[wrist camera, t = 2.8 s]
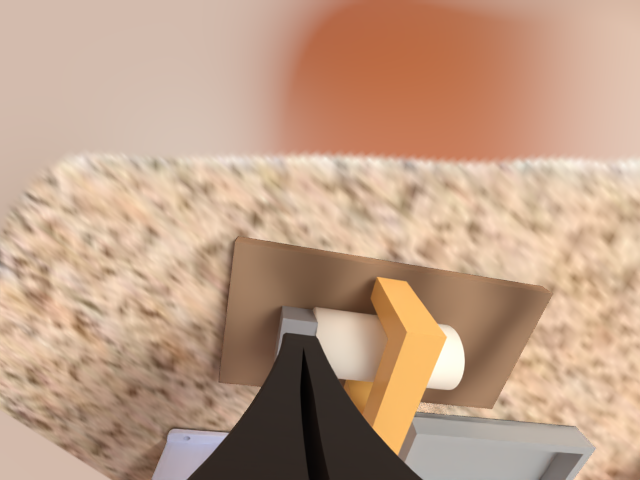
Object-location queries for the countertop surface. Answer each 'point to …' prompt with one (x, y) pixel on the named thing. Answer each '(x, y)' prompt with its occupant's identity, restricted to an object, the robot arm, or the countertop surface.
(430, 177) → the countertop surface
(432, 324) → the yellow bridge block
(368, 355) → the white cylinder grey cap
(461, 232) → the countertop surface
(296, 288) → the board
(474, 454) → the tray
